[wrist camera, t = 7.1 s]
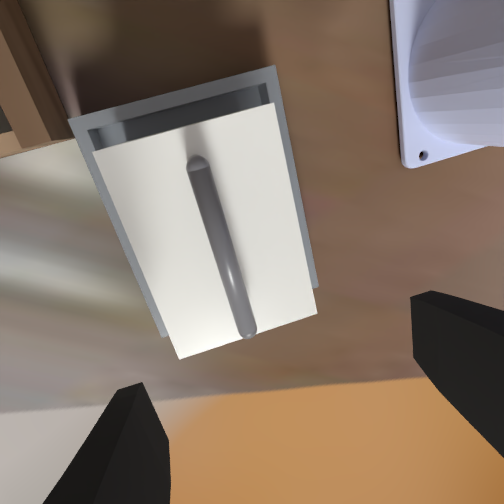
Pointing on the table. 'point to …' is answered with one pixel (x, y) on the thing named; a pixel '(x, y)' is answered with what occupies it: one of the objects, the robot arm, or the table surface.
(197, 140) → the white drawer with handle
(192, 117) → the slate drawer housing
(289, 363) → the table surface
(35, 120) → the walnut bay
